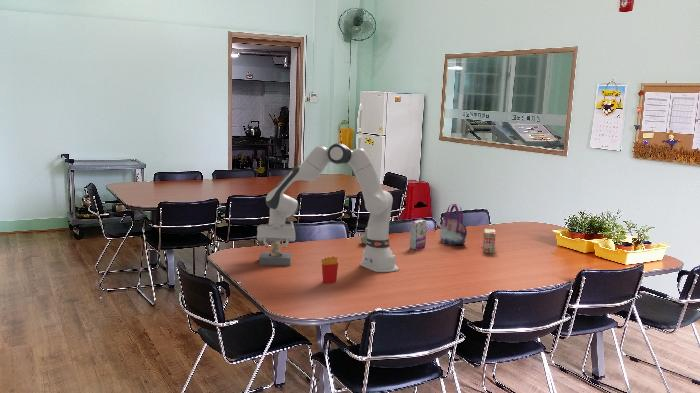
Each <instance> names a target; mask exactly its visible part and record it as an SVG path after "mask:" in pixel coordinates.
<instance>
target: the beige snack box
mask: <svg viewBox="0 0 700 393" xmlns="http://www.w3.org/2000/svg"><path fill="white" fill-rule="evenodd" d="M496 235H497V233H496V230H495V228H492V229H491V228H484V230H483V238H482V239H483V242H482V247H483V252H482V253H484V252H485V254H494V253H495V245H496Z"/></svg>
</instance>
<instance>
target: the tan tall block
mask: <svg viewBox="0 0 700 393" xmlns="http://www.w3.org/2000/svg"><path fill="white" fill-rule="evenodd" d="M270 242H271V244H270V249H271V250H270V252H271V256H280V252H281V241H270Z"/></svg>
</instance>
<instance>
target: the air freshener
mask: <svg viewBox="0 0 700 393" xmlns="http://www.w3.org/2000/svg"><path fill="white" fill-rule="evenodd" d="M367 233H368V226H367V227H365V229H364V234H362V235H361V237H360V242H361V243H362V244H364V245H366V246H367V244H366V238H367Z"/></svg>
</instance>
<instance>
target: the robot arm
mask: <svg viewBox="0 0 700 393" xmlns="http://www.w3.org/2000/svg"><path fill="white" fill-rule="evenodd" d="M330 163H332V164H335V165H338V166H339V165H340V166H341V165H346V164H348V165H349V166H350V167H351V169H352V172H353V173H354V176H355V178H356V180H357V182H358V184H359V186H360V187H359V188H360V190H361V193H362V196H363V198H362V199H363V201H364V207H365V209H366V211H367V212H368V213H370V214H369V218H368V222H367V227H368V233H367V238H366V244H367V245H366V244H365V245H366V246H365V248H364V249H363V251H362V261H360V263H359V266H361V267H364V268H366V269H367V270H370V271H373V272H376V273H388V272H397V271H399V270H400V267H398V266H397V264H396V263H395V261H396V255H395V254H393V251H392V250H391V247H390V239H389V231H390V230H389V227H390V219H391V216H392V215H391V214H392V206H393V202H394V200H393V199H394V198H393V196H392V194H391V193H390V192H389V191H387V190H385V189H384V190H383V188H382V184H381V179H380V175H379V174H378V171H377V169H376V167H375V165H374V163H373V161H372V159H371V158H370V155H369V154H368V152H367V151H366V150H365V149H364V148H362V147H361V148H354V149H351V148H350V146H348V145H346V144H343V143H339V142H337V143H333V144H331V145H330V146H329V147H328V148H327V147H325V146H323V145H316V146H315V147H314V148H313V149H312V150H311V152H309V154H308V155H307V157H306V158H305V160H304V161H303V162H302V163H301V164H299V165H298V166H294V167H292V168H291V169H290V170H289V171H288V172H287V173H286V174H285V176H283V178H282V179H281V180H280V181H278V183H277V184H276V185H275V186H274V187H273V188H272V189H271V190H270V191H269V192H268V193H267V195H266V196H265V204H266V206H267V207H268V208H269V218H268V224H259V225H257V228H256V231H257V234H256V239H257V241H259V242H260V241H261V242H263V244H264V248H269V242H272V241H280V242H285V243H283V246H282V247H283V249H285V248H287V246H288V244H289V242H295V240H296V230H295V227H294V222H293V221H291V220H287V218H291V217H292V216H294V215H296V214H297V213H298V211H299V201H298V200H297V199H295V198H293V197H292V196H289V195H288V194H285V191H286V190H288V188H289V187H290V186H291V185H292V184H293V183H294V182H296V181H297V182H298V181H305V182H307V181H308V182H311V181H315V180H317V179H318V178H320V176H321V174H322V173H323V172H324V170H325V168H326V167H327V166H328V165H329V164H330Z"/></svg>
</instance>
